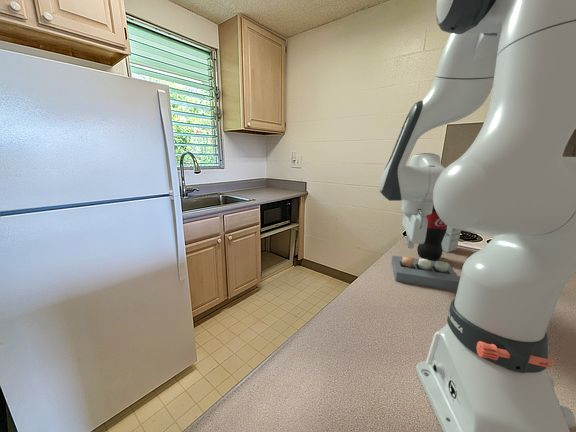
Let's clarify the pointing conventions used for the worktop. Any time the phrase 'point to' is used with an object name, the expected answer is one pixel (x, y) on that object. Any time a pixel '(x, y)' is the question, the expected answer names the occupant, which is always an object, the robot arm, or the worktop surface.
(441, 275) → the panel
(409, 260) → the terracotta button
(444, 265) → the sage button
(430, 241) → the cola bottle
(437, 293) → the worktop surface
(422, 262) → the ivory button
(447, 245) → the supplement box
